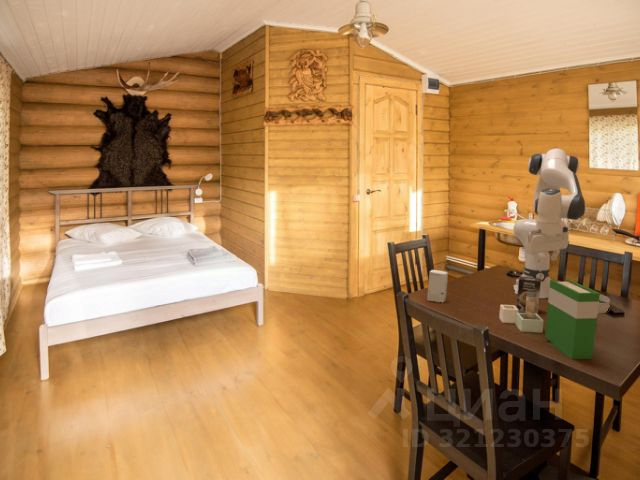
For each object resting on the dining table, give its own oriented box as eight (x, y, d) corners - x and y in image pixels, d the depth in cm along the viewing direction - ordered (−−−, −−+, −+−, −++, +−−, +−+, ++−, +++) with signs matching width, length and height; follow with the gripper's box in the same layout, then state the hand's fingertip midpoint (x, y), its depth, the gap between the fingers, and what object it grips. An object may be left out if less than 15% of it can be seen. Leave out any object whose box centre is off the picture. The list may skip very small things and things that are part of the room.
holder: (515, 326, 186) (516, 312, 185) (535, 327, 185) (536, 313, 184) (520, 333, 178) (522, 319, 177) (542, 334, 177) (543, 320, 176)
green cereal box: (544, 339, 173) (550, 279, 169) (563, 338, 174) (569, 279, 169) (571, 359, 156) (578, 293, 152) (592, 358, 156) (599, 293, 152)
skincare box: (426, 300, 220) (428, 271, 217) (429, 297, 225) (431, 269, 222) (444, 303, 216) (445, 273, 213) (446, 299, 221) (448, 271, 219)
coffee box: (515, 313, 202) (518, 278, 199) (516, 308, 208) (519, 275, 205) (537, 316, 198) (540, 281, 195) (538, 311, 204) (541, 277, 201)
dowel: (522, 327, 183) (525, 292, 180) (530, 326, 183) (533, 292, 181) (526, 330, 180) (529, 294, 177) (535, 330, 180) (538, 294, 177)
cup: (499, 319, 194) (500, 304, 192) (513, 320, 193) (514, 305, 191) (502, 324, 188) (503, 309, 187) (517, 325, 187) (518, 309, 186)
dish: (594, 299, 222) (595, 290, 221) (619, 314, 201) (620, 304, 200) (548, 298, 224) (549, 288, 223) (568, 313, 203) (569, 302, 202)
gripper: (534, 232, 175) (532, 266, 178) (572, 227, 182) (569, 260, 185) (522, 230, 180) (520, 262, 183) (559, 225, 188) (556, 256, 191)
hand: (545, 261), depth 184 cm, fingers open, 8 cm apart
